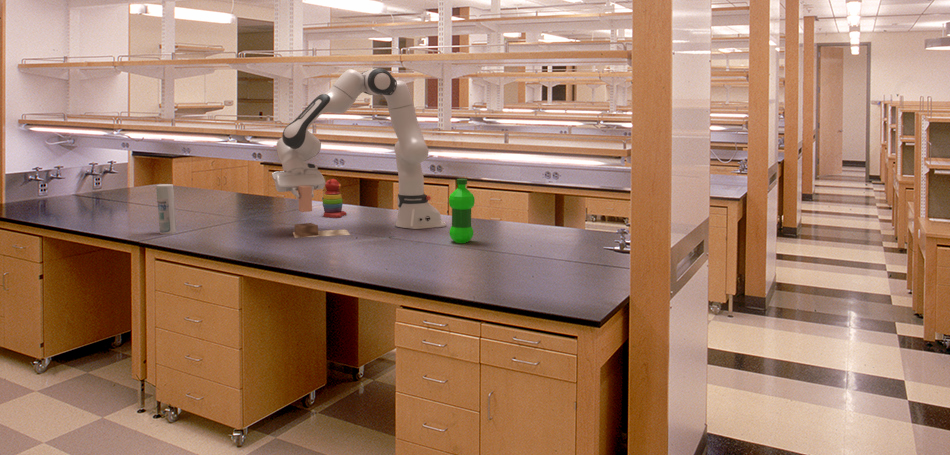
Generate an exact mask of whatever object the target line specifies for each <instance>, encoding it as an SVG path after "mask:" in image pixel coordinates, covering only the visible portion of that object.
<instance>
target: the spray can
mask: <svg viewBox="0 0 950 455" xmlns="http://www.w3.org/2000/svg"><path fill="white" fill-rule="evenodd" d="M155 189H156V200H157V201H156V202H157V212H158V213H157V214H158V225H159V233H160V234H161V235H172V234H176V233H177V225H176V224H177V222H176V220H177V219H176V206H175V190H174V184H172V183H171V184H170V183H163V184H161V183H160V184H156V186H155Z"/></svg>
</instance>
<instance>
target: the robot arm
mask: <svg viewBox="0 0 950 455" xmlns="http://www.w3.org/2000/svg"><path fill="white" fill-rule="evenodd" d="M362 93H364V94H366V95H368V96H380V95H381V96H382V97H384V99H385V101H386V103H387V108H388V112H389V117H390V121H391V126H392V128H393V131H394V133H395V135H396V138H397V141H396V142H395V143H394V144H395V145H394V154H395V160H396V168H397V174H398V194H397V216H396V217H397V218H396V221H395V227H396V228H397V227H398V228H402V229H403V228H404V229H413V230H421V229H430V228H431V229H432V228H434V229H435V228H441V227H446V226H447V223H446V222H445V221H444V220H443V219H442V217H441V216H442V215H441V213H440V211H439V209H437V208H436V207H435V206H433V205H432V204H431V203H429V201H431V195H427V194H425V193H424V192H425V178H424V174H423V170H422V163H423V162H425V161H426V159H427V158H428V156H429V147H428V145H427V144H426V141H425V138H424V135H423V133H422V129H421V127H420V124H419V121H418V118H417V113H416V109H415V105H414V101H413V96H412V94H411V92H410V88H409V86H408V84H407V83H406V82H405V81H403V80H398V79H395V78H394V77H393V75H392V74H391V73H390V72H389V71H388V70H387V69H385V68H382V67H381V68H380V67H378V68H370V69H369V70H365V71H363V72H359V71H358V70H356V69H352V68H349V69H346V70H345V71H344V72H343V73H342V74H341V75H340V76H339V77H338V78H337V79H336V80H335V81H334V82H333V84H332V86H330V88H329V89H328V90H327V91H326V92H324V93H322V94H319V95H317V97H315V98H314V99H313V100H312V101H311V102H310V103H309V104H308V105H307V107H305V109H304V110H303V111H302V112H301V113H300V114H299V115H298V116H297V117H296V118H295V119H294V120H293V121H291V122H290V123H289V124H287V125H286V126H285V128H284V129H283V131H282V137H280V138H279V139H278V140H277V142H276V146H275V147H276V153H277V156H278V159H279V162H280V163H281V165H282V171H278V170H277V171H274V172H272V173H271V177H272V179H273V181H274V187H275V189H276V190H275V191H277V192H278V193H285V192H291V194H293V196H295V198H296V199H297V200H298V199H301V194H300V193H298V186H311V188H312V199H313V198H315V197H314V196H315V194H314V191H315V190H323V189H325V184H326V179H325V178H324V176H323V174H322V172H321V171H320V170H318V169H319V168H318V165H317V164H314V163H311V162H307V161H309V160H311V159H313V158H315V157H316V156H317V155H319V153H320V151H321V148H322V143H321V140H320V138H318V137H317V136H315V135H314V134H313V133H311V131H309V129H310V127H311V126H312V125H313V124H314V123H315V121H316V120H317V119H318V118H319V117H320V116H321V115H323V114H324V113H332V114H338V115H339V114H345V113H346V112H347V111H348V110H349V109H350V108H351V107H352V106H353V104H354V103H355V102H356V101H357V99H358V97H359V96H360V95H362Z"/></svg>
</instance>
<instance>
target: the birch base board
mask: <svg viewBox="0 0 950 455" xmlns="http://www.w3.org/2000/svg"><path fill="white" fill-rule="evenodd" d="M292 234H293V237H294V238H295V239H297V238H302V237H301V236H298V235H296V234H295V231H292ZM333 236H334V237H336V236H339V237H340V236H351V234H350V232H349V231H348V230H347V229H330V230H329V229H326V230H318V235H315V236H306V237H305V238H316V237H333Z"/></svg>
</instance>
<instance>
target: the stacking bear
mask: <svg viewBox="0 0 950 455" xmlns="http://www.w3.org/2000/svg"><path fill="white" fill-rule="evenodd" d="M341 187H342V185H341V183H340V182H339V181H338V180H337V179H335V178H332V179H330V178H329V179H327V181H325V186H324V188H325V192H324V194H323V197H322V208H323V211H324V212H323V214H322V215H323V217H324V218H329V219H331V218H333V219H339V218H342V217H345V216H347V212H346V211H344V210H342V209H343V204H344V203H343V202H344V201H343V196H342V193H341V191H340V190H341ZM344 215H345V216H344Z"/></svg>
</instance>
